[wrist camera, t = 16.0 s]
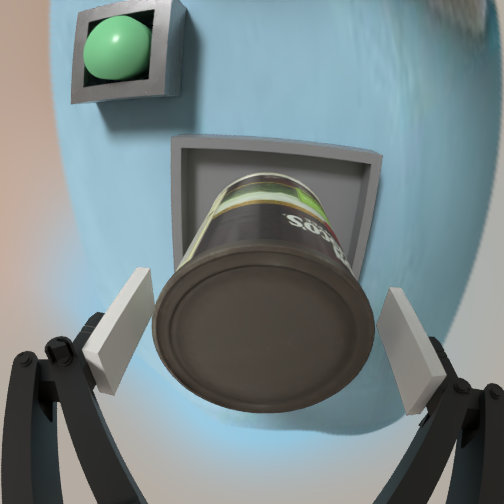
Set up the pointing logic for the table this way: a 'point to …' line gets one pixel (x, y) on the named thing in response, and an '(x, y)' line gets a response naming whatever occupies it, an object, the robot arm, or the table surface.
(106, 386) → the robot arm
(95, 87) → the button housing
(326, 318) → the coffee can
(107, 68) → the button
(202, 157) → the shallow gray tray
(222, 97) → the table surface
